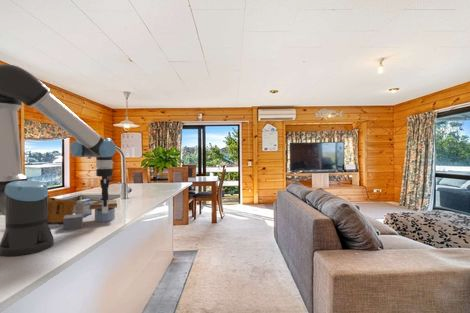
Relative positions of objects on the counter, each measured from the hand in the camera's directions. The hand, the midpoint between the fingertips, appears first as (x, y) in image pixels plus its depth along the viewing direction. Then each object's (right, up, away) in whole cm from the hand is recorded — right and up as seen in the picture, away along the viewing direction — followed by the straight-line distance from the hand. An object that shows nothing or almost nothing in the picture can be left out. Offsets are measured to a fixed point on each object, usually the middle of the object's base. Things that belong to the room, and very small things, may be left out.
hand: (104, 210), depth 132 cm
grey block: (-7, -5, -14) cm, 16 cm away
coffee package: (-34, +2, -5) cm, 34 cm away
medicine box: (-15, -5, +8) cm, 18 cm away
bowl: (0, -5, 0) cm, 5 cm away
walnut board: (-1, +2, 0) cm, 2 cm away
